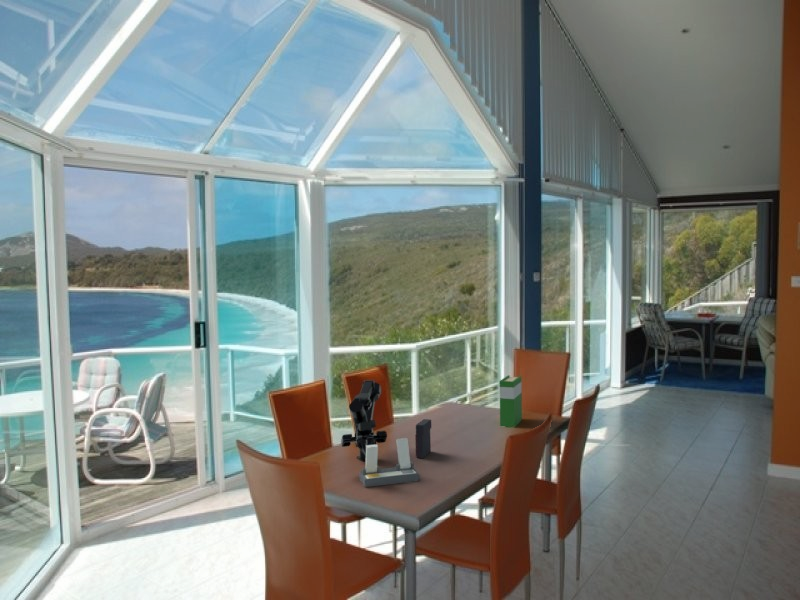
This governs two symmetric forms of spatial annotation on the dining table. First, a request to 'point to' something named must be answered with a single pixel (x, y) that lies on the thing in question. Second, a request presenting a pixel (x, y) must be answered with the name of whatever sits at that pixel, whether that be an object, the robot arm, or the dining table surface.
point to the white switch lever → (371, 458)
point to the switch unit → (388, 476)
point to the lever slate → (403, 453)
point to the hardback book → (510, 401)
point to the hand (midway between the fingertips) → (367, 456)
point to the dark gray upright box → (423, 438)
